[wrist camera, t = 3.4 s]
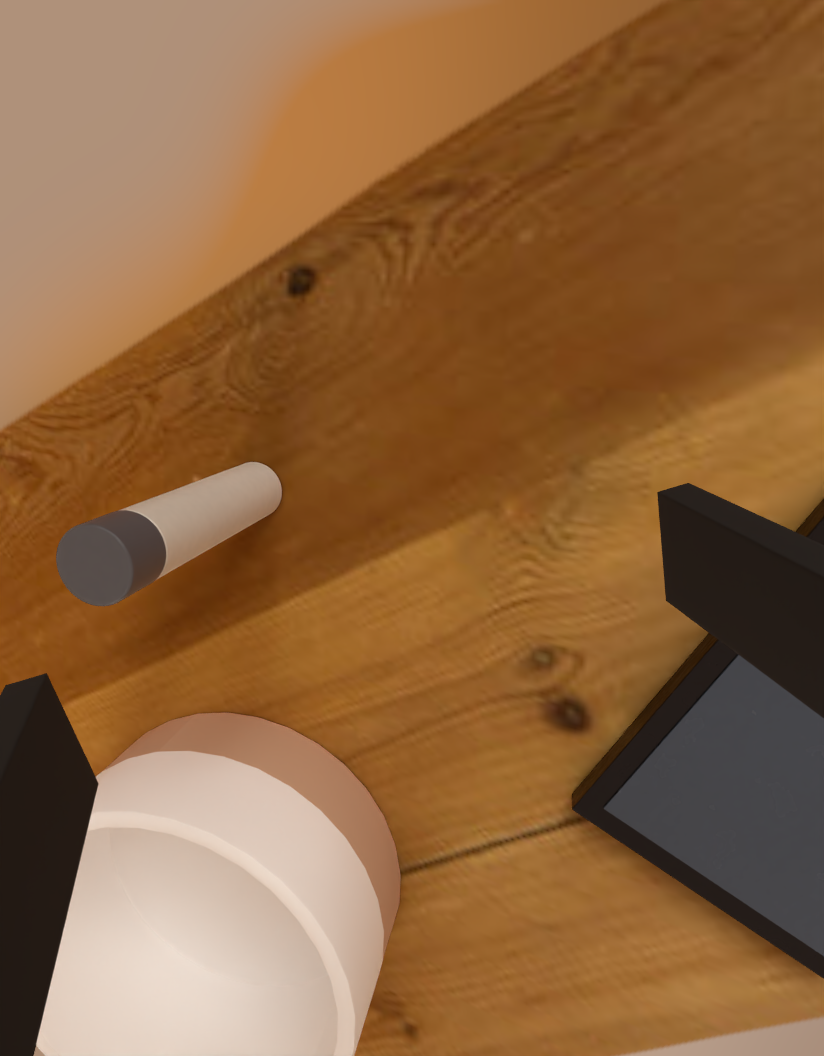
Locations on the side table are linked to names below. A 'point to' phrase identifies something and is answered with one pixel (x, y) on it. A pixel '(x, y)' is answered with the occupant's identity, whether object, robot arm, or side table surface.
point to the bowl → (224, 900)
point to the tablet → (726, 793)
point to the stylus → (163, 533)
